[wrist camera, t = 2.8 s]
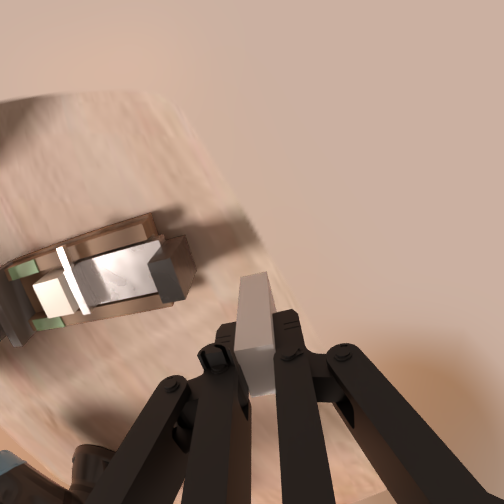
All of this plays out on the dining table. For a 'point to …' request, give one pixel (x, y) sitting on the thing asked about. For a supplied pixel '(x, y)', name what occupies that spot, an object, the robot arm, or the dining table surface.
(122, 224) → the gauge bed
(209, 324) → the dining table surface
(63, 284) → the cream cube
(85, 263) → the grey sliding carriage
